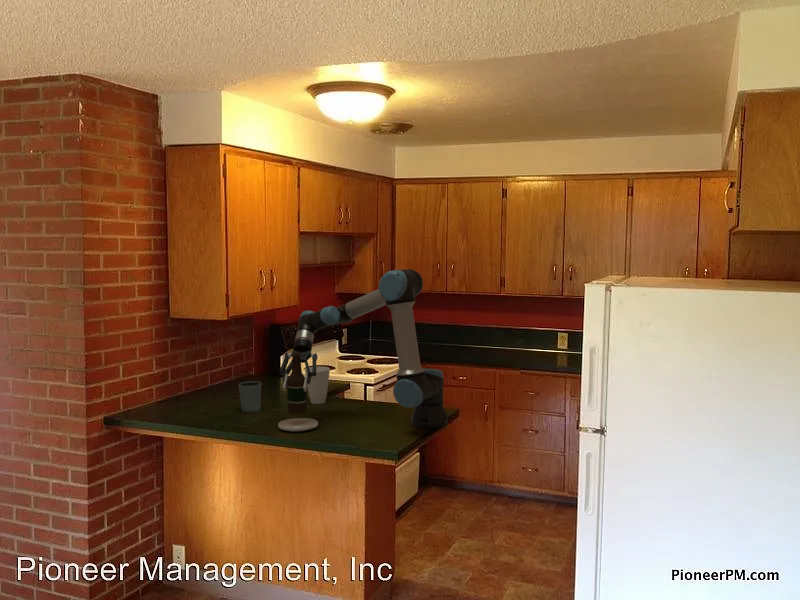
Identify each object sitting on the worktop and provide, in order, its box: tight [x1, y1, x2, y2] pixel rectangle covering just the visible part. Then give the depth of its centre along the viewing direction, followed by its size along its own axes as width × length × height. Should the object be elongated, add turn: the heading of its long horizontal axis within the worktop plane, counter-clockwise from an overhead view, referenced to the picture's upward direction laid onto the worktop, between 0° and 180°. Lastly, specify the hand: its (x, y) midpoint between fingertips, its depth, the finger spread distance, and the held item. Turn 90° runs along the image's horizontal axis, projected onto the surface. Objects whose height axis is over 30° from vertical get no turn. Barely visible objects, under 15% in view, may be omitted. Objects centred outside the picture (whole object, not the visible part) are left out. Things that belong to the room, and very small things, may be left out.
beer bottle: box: [286, 353, 308, 415], centre depth 279 cm, size 8×8×24 cm
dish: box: [277, 417, 319, 433], centre depth 280 cm, size 16×16×2 cm
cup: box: [304, 366, 331, 405], centre depth 324 cm, size 12×12×16 cm
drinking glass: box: [237, 380, 262, 413], centre depth 311 cm, size 10×10×12 cm
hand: (294, 389), depth 276 cm, fingers closed on beer bottle, 7 cm apart
